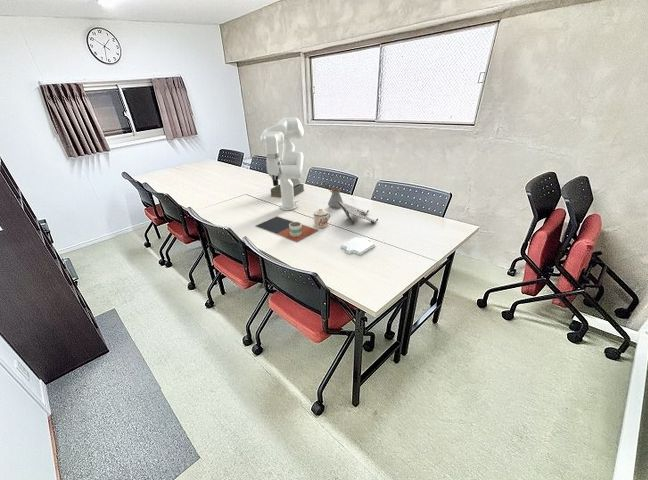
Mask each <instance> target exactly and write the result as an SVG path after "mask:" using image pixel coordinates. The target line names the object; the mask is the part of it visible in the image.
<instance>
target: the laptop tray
mask: <svg viewBox="0 0 648 480" xmlns="http://www.w3.org/2000/svg"><path fill="white" fill-rule="evenodd" d="M337 202H338V203H339V205H340V206H341V209H342V210H343V212H344V214H345V216H346V217H347V218H348V220H349V221H350V222H351V223H352V224H354V222H353V219H352V217H351V216H350V215H352V216H356V217H357V218H361V219H364V220H366V221H369V222H370V223H371V224H375V223H377V222H378V220H379V218H376V220H375V219H372V218H370V217H368V216H365V215H368V213H369V212H370V210H369V209H368V210H366V211H365V210H364V209H363V210H362V209H360V208H358V207H355V206H353V205H351V204H348V203H345V202H343V203H342V202H340V201H337ZM363 214H364V215H363Z"/></svg>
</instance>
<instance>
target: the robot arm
mask: <svg viewBox="0 0 648 480" xmlns="http://www.w3.org/2000/svg"><path fill="white" fill-rule="evenodd" d="M299 119H300V118H298V117H296V116H290V117H281V119H279V121H278V122H277V123H276V124H274V125H272V126H268V127H267V128H265V129H264V130H263V131H262V133H261V136H260V141H261V143H262V144H263V145H264V147H265V154H266V163H265V164H266V173H267V174H268V176H269V177H271V180H272V185H273V187H276V186H278V185H280V187H281V198H280V199H281V205H280V206H279V208H280V209H281V210H282V211H292V210H295V209H296V208H298V207H297V206H298V205H297V204H298V203H299V200H298V199H295V196H294V191H293V183H292V181H291V180H290V179H298V180H300V179H301V178H302V175H303V170H304V169H303V168H304V159H305V158H304V154H303V152H302V151H300V150H299V151H298V150H295V149H296V148H295V147H296V145H295V144H294V143H293V142H292V140H295V139H296V140H297V139H302V138H303V137H304V133H305V132H304V127H303V125H302V122H301V120H299ZM280 145H282V152H281V153H282V154H281V158H280V155H279V146H280ZM281 162H282V163H283V164H284V165H281Z"/></svg>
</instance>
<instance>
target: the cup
mask: <svg viewBox="0 0 648 480" xmlns="http://www.w3.org/2000/svg"><path fill="white" fill-rule="evenodd" d="M302 225H303V224H302V222H300V221H292V223H290V224H289V232H290V236H293V237H297V236H300V235H302Z"/></svg>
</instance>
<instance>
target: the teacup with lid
mask: <svg viewBox="0 0 648 480" xmlns="http://www.w3.org/2000/svg"><path fill="white" fill-rule="evenodd" d="M330 218H331V214H330V212H328V211H327V210H326V209H323V208H321V207H320V208H318V209H317V210H314V212H313V221H314V222H313V225H314V227H315V228H317V229H323V228H327V227H328V221H329V220H330Z"/></svg>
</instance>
